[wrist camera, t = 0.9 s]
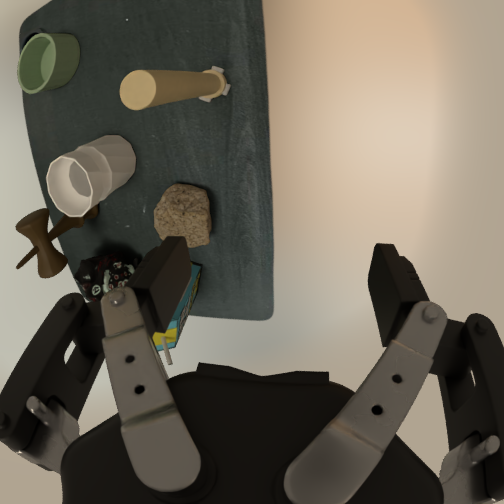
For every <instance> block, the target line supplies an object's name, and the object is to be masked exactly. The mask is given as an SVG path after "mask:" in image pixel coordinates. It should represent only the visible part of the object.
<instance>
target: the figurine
mask: <svg viewBox="0 0 504 504" xmlns="http://www.w3.org/2000/svg"><path fill="white" fill-rule="evenodd" d="M137 261H138V258H135V259H134V261H133V265H128V264H127V262H126V260H125V258H124V255H123V254H122V252H120V251H116V252H114V253H113V254H110V255H106V256H101V255H99V256H96V257H92V258H88V259H86V260H81V262H80V267H79V269H78V272H77V273H75V277H74V276H73V278H74V279H75V280H76V281H77V282H78V283H79V284H80V285H81V287H82V288H83V290H84V292H85V293H86V297H87V298H89V299H90V300H93V302H96V301H101V299H102V297H103V296H104V295H105V294H106V293H107V292H108V291H110V290H111V289H114V288H116V287H122V286H124V285H125V284H126V282H127V281H128V279H129V278H130V277H131V275H132V274H133V272H134V271H135V270H134V268H135V269H136V268H138V265H137ZM133 267H134V268H133Z"/></svg>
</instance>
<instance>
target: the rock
mask: <svg viewBox="0 0 504 504" xmlns="http://www.w3.org/2000/svg"><path fill="white" fill-rule="evenodd" d="M160 200H161V201H160V202H159V203H158V204H157V207H156V208H155V209H154V222H155V225H154V227H155V228H156V230H157V232H158V233H159V237H160V238H161V239H162V240H163V241H164V240H165V238H166V237H167V236H184V237H185V238H186V241H187V246H188V247H190V248H192V247H193V248H194V247H197V246H200V245H207V244H208V243H209V242H210V239H209V234H210V231H211V216H210V212H209V210H210V209H209V200H208V197H207V192H206V190H204V189H200V188H197V187H195V186H192V185H186V184H174V185H173V186H171V187H169V188H168V189H167V190H166V191H165V192H164V194H163V195H162V198H161V199H160Z"/></svg>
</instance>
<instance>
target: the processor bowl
mask: <svg viewBox="0 0 504 504" xmlns="http://www.w3.org/2000/svg"><path fill="white" fill-rule="evenodd" d="M79 59H80V47H79V43H78V41H77V39H76V38H75V37H74V36H73V35H71V34H67V33H40V34H38V35H35V36H34V37H33V38H31V39H30V40H29V41H28V43H27V44H26V45H25V47H24V48H23V51H22V53H21V55H20V58H19V62H18V70H17V75H18V81H19V84H20V86H21V88H22V89H23V90H24V91H25V92H26V93H30V94H33V93H38V92H42V91H46V90H51V89H56V88H60V87H62V86H64V85H65V84H67V83H68V82H69V81H70V80H71V78H72V77H73V75H74V74H75V72H76V69H77V67H78V64H79Z"/></svg>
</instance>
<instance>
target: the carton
mask: <svg viewBox="0 0 504 504" xmlns="http://www.w3.org/2000/svg"><path fill="white" fill-rule="evenodd" d="M190 262H191V268H192V272H191V278H190V281H189V283H188V285H187V287H186V289H185V291H184V294H183V296H182V298H181V300H180V302H179V304H178V306H177V309H176V311H175V313H174V315H173V317H172V320H171V322H170V324H169V326H168V328H167V331H166V333H165V334H163V333H157V332H155V333H154V335H153V337H152V338H153V340H154V343H155V345H156V348H157V350H158V351H162V350H164V352H165V356H166V359H167V363H168V365H171V364H173V363H172V360H171V356H170V353H169V349H171V348H175V347H176V344H177V342H178V340H179V337H180V334H181V332H182V330H183V327H184V325H185V322H186V320H187V317H188V315H189V312H190V310H191V307H192V305H193V302H194V300H195V298H196V295H197V292H198V287H199V281H200V276H201V270H202V264H198V263H195V262H192V261H190Z"/></svg>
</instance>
